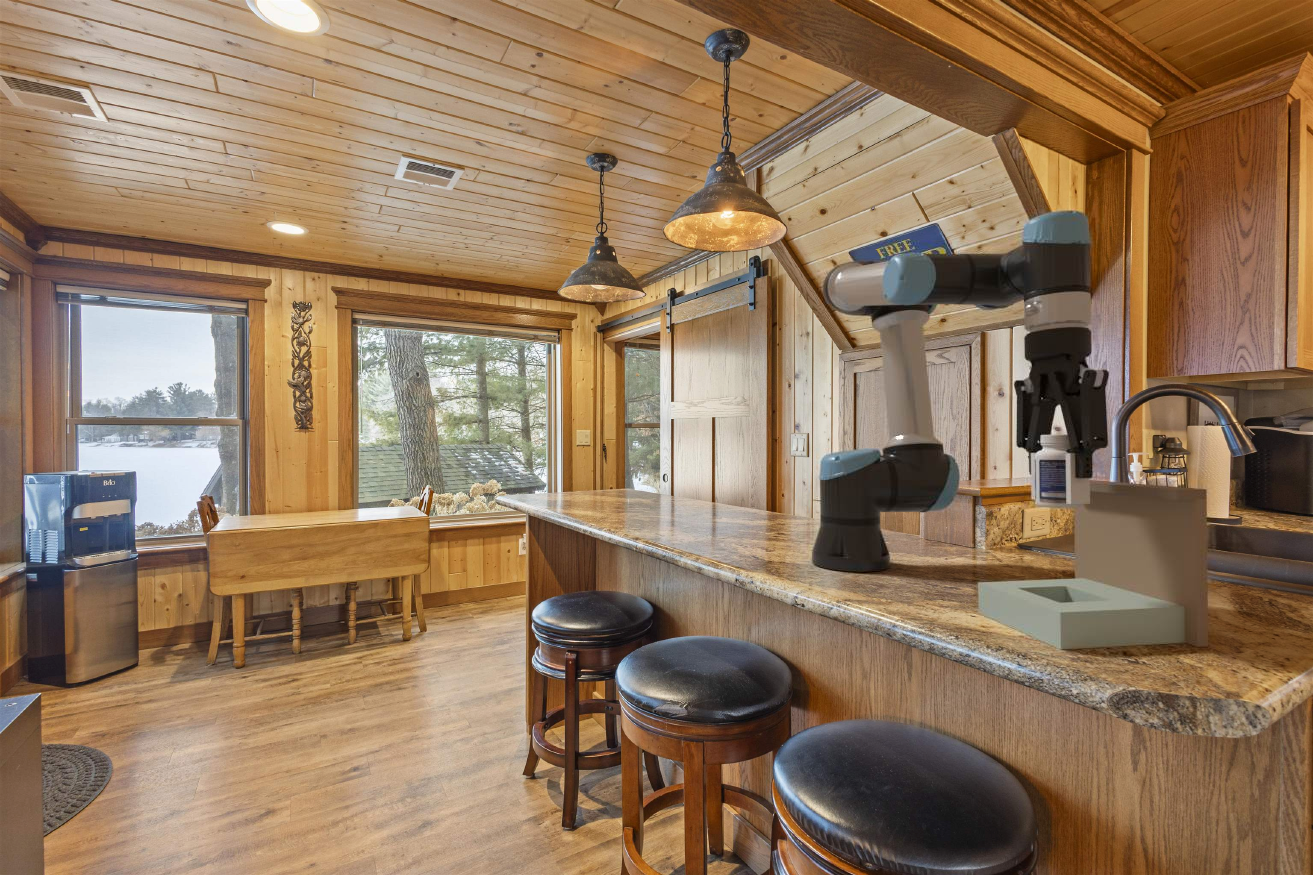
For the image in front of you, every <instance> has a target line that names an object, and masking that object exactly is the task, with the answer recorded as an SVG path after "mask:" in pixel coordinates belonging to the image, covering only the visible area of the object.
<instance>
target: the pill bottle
mask: <svg viewBox="0 0 1313 875" xmlns="http://www.w3.org/2000/svg"><path fill="white" fill-rule="evenodd" d="M1040 443H1041V445H1042V446H1043V449H1042V450H1041V451H1038V452H1037V453H1036V454H1035V500H1034V501H1035V502H1034V503H1035V505H1036V506H1037V507H1040V508H1041V507H1042V508H1048V509H1049V508H1050V509H1074V508H1082V507H1083V504H1066V454H1075V453H1067V452H1066V450H1067V449H1070V448H1071V447H1070V443H1069V439H1068V435H1067V434H1050V435H1041V441H1040Z"/></svg>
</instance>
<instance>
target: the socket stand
mask: <svg viewBox="0 0 1313 875" xmlns="http://www.w3.org/2000/svg"><path fill="white" fill-rule="evenodd" d="M1207 496H1208V495H1207V489H1205V488H1196V487H1195V488H1193V487H1184V486H1183V487H1181V486H1167V485H1158V484H1157V485H1156V484H1146V483H1133V482H1132V483H1130V482H1120V481H1119V482H1117V481H1109V480H1108V481H1107V480H1093V479H1090V504H1083V507H1082V508H1073V509H1074V510H1073V514H1074V521H1073V522H1074V527H1073V528H1074V578H1057V579H1054V578H1053V579H1034V580H1033V579H1031V580H1029V579H1028V580H1010V581H1009V580H1008V581H1004V580H1003V581H982V582H977V584H978V585H977V587H978V588H977V589H978V590H977V591H978V592H977V594H978V595H977V596H978V597H977V598H978V599H977V600H978V602H977V603H978V605H977V606H978V612H977V613H978V614H979V615H981V616H984V617H986V618H989V619H991V620H993V621H996V622H998V623H1000V624H1002V625H1004V626H1006V627H1009V628H1011V629H1013V630H1016V631H1018V632H1020V633H1022V634H1025V635H1027V636H1029V637H1032V638H1034V639H1036V640H1038V641H1041V642H1043V643H1046V645H1050V646H1052V647H1054V648H1057V649H1058V650H1061V651H1062V650H1076V649H1095V648H1098V649H1099V648H1113V647H1116V648H1117V647H1129V646H1130V647H1133V646H1134V647H1135V646H1148V645H1149V646H1150V645H1151V646H1152V645H1165V644H1166V645H1167V644H1168V645H1169V644H1182V643H1183V644H1188V645H1191V646H1194V647H1197V648H1201V647H1209V606H1208V601H1209V599H1208V598H1209V597H1208V586H1209V585H1208V515H1207V514H1208V511H1207V510H1208V507H1207V506H1208V505H1207V504H1208V503H1207V502H1208V501H1207V499H1208V498H1207Z"/></svg>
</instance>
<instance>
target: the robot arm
mask: <svg viewBox="0 0 1313 875" xmlns="http://www.w3.org/2000/svg"><path fill="white" fill-rule="evenodd" d="M1089 224H1090V223H1089V219H1088V216H1087V215H1086V214H1085V213H1084V212H1082V211H1079V210H1073V209H1072V210H1057V211H1051V212H1047V213H1043V214H1040V215H1038V216H1035V217H1033V218H1031V219H1029V220H1028V221H1026V223H1025V224H1024V226H1023V229H1022V230H1023V231H1022V236H1021V243H1022V244H1021V245H1019V246H1018V247H1016V248H1014V249H1012V250H1010V251H1007V252H1003V253H926V252H925V253H923V252H908V253H899V254H898V253H897V254H895V255H893V256H892V257H891V258H890V260H853V261H849V262H848V261H847V262H844V263H841V264H838V265H836V266H835V267H833V268H832V269H830V271H828V273H827V274H826V276H825V278H824V280H823V283H822V294H823V298H824V300H825V302H826V304H827V305H828V306H829V307H830V308H831V309H833V311H836V312H838V313H840V314H843V315H847V316H848V315H849V316H856V317H859V316H860V317H862V316H863V317H870V319H871V320H870V321H871V326H872V327H871V328H872V329H874V330H875V331H876V332H877V333H879V337H880V348H881V357H882V369H883V370H882V371H883V383H884V392H885V393H884V394H885V403H886V404H885V406H886V418H887V426H888V427H887V428H888V429H887V430H888V437H889V438H888V442H886V443H885V445H883V447H882V453H881V451H880V449H878V448H861V449H851V450H843V451H837V452H836V451H835V452H833V453H828V454H826V455H824V456H823V457H822V458H821V460H820V468H819V476H818V479H819V498H820V499H819V502H820V503H819V506H820V511H819V513H820V515H819V516H820V518H819V519H820V523H819V524H820V525H819V529H818V532H817V535H816V537H815V538H816V539H815V542H814V544H813V548H812V550H811V563H812V564H813V563H814V564H813V565H815V566H816V567H820V568H823V569H827V570H834V571H843V572H856V573H857V572H860V573H861V572H862V573H864V572H869V573H870V572H878V571H884V570H888V569H889V568H890V567H891V555H890V552H889V549H888V547H887V543H886V540H885V537H884V534H883V531H882V528H881V513H904V512H905V513H917V512H918V513H927V512H938V511H943V510H946V509H947V508H948V507H949V506H950V505H952V503H953V501H954V499H955V498H956V496H957V494H958V490H959V487H960V478H961V477H960V476H961V475H960V469H959V465H958V462H956V459H955V457H954V456H952V455H950V454H948V453H945V451H944V450H945V449H944V443H943V442H941V441H940V440H939V439H937V438H936V437H935V434H934V422H933V415H932V414H933V413H932V412H933V411H932V404H931V403H932V402H931V393H930V384H929V383H930V382H929V373H928V364H927V363H928V362H927V354H926V343H925V334H924V333H925V332H924V327H925V325H926V324H927V323H928V321H929V320H930V318H931V317H930V316H931V314H932V313H934V312H935V310H936V308H937V306H938V305H954V306H955V305H956V306H957V305H960V306H961V305H962V306H964V305H966V306H968V305H969V306H970V305H971V306H976V308H978V309H980V310H983V311H996V310H998V309H1000V310H1001V309H1006V308H1008V307H1009V306H1013V305H1015V304H1018V303H1019V302H1022V301H1023V302H1024V306H1023V307H1024V316H1023V317H1024V330H1025V331H1027V332H1028V333H1026V334H1025V335H1024V338H1023V339H1024V340H1023V342H1024V345H1023V346H1024V358H1025V361H1028V362H1029V363H1030V364H1031V366H1030V371H1029V373H1028V374H1029V375H1028V376H1027V377H1026V378H1024V379H1019V380H1018V379H1017V380H1014V383H1013V387H1014V391H1015V394H1016V437H1015V438H1016V439H1015V441H1016V442H1015V445H1016V447H1017V448H1018V449H1024V450H1025V451H1026V453H1028V473H1029V475H1030V488H1031V489H1030V490H1031V491H1030V493H1031V496H1030V497H1031V498H1030V499H1031V500H1033V501H1035V454H1036V453H1037V452H1038V451H1041V450H1042V449H1043V446H1042V445H1041V443H1040V441H1041V435H1052V434H1051V433H1052V429H1053V423H1054V420H1055V419H1054V417H1055V414H1056V410H1057V409H1056V408H1057V407H1058V406H1060V410H1061V414H1062V419H1063V422H1064V427H1065V430H1066V435H1068V439H1069V443H1070V447H1071V448H1070V449H1067V450H1066V452H1067V453H1075V454H1066V504H1090V480H1091V479H1092V478H1093V476H1094V475H1093V474H1094V473H1093V472H1094V470H1093V469H1094V468H1093V464H1094V462H1093V456H1094V455H1093V454H1094V453H1095V452H1096V451H1098V450H1100V449H1106V448H1107V447H1108V446H1109V438H1108V437H1109V436H1108V435H1109V433H1108V417H1107V416H1108V414H1107V412H1108V411H1107V391H1106V390H1107V389H1106V387H1107V384H1108V380H1109V376H1110V372H1109V370H1107V369H1092V368H1089V364H1088V363H1087V360H1086V358H1089V357H1090V356H1092V355H1091V354H1092V351H1093V349H1092V348H1093V347H1092V330H1090V328H1089V327H1087V326H1089V325H1091V323H1092V304H1091V303H1092V299H1091V298H1092V297H1091V244H1092V239H1091V236H1090V235H1091V234H1090V225H1089Z"/></svg>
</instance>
